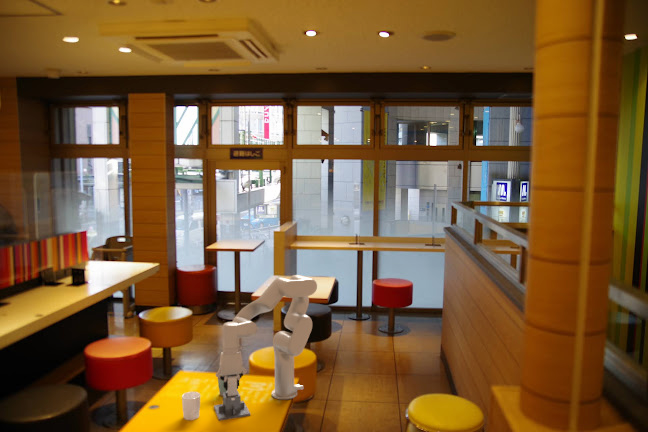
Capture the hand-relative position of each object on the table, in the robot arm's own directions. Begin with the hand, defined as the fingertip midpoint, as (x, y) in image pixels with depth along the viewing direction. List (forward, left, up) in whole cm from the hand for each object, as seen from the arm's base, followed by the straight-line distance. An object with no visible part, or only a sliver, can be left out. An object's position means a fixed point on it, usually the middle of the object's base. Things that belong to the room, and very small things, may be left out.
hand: (231, 388), depth 237 cm
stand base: (0, 0, -11) cm, 11 cm away
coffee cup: (-1, -20, -11) cm, 23 cm away
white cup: (+18, -1, -11) cm, 21 cm away
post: (0, 0, -10) cm, 10 cm away
